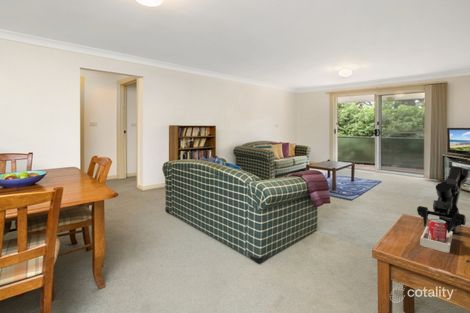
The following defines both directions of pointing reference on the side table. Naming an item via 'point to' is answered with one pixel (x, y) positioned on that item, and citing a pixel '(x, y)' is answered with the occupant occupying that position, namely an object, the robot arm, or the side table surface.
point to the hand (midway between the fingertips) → (436, 229)
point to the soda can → (437, 230)
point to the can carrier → (436, 242)
